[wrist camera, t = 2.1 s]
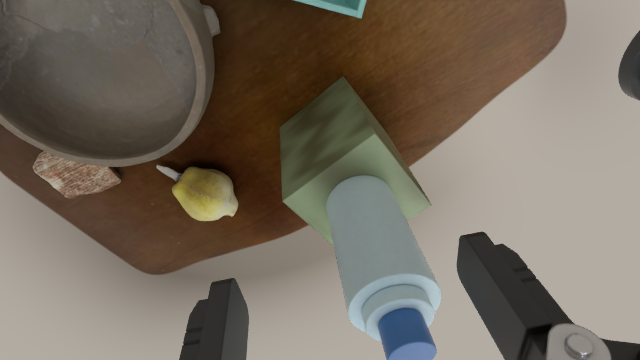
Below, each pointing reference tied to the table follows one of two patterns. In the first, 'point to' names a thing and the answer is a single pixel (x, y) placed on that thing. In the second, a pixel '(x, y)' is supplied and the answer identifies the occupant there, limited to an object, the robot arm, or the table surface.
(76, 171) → the stone
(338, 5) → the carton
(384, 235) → the bottle
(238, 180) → the table surface
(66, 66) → the bowl
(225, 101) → the table surface
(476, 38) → the table surface
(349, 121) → the stand
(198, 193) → the fruit
